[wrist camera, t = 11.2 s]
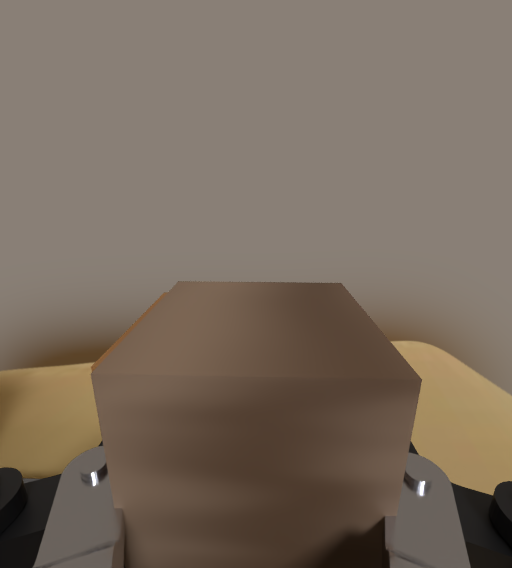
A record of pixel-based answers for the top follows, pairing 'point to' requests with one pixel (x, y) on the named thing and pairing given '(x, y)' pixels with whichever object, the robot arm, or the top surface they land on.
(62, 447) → the top surface
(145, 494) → the walnut finger
